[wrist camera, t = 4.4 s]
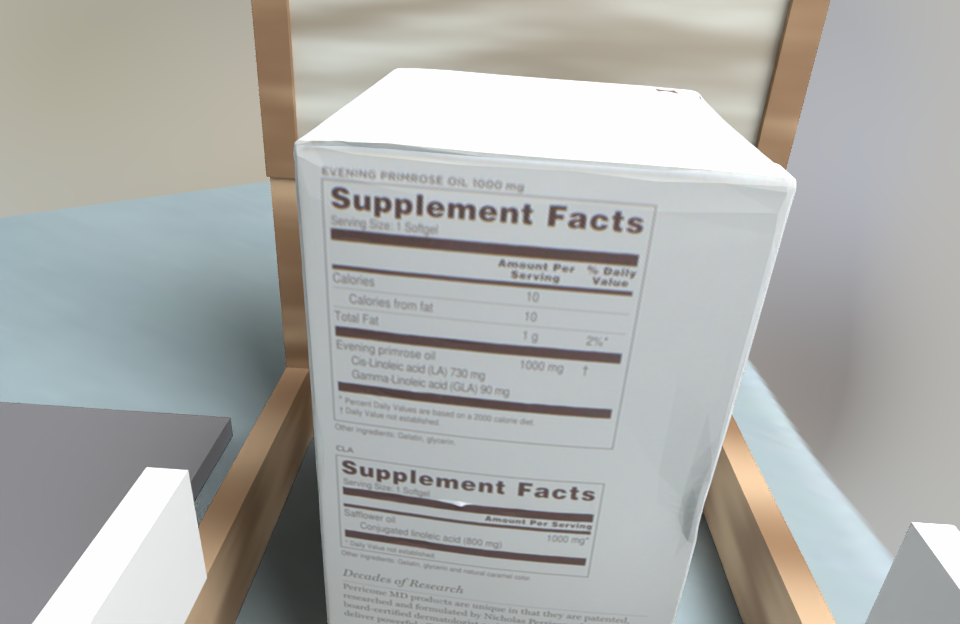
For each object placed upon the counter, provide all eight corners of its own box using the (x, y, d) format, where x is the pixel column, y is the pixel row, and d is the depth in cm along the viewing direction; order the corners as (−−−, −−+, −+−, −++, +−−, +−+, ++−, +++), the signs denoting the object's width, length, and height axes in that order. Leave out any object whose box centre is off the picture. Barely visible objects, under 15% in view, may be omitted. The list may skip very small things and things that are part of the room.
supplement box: (391, 493, 28) (390, 61, 21) (616, 516, 28) (700, 84, 20) (324, 720, 20) (279, 128, 12) (647, 760, 19) (814, 168, 12)
